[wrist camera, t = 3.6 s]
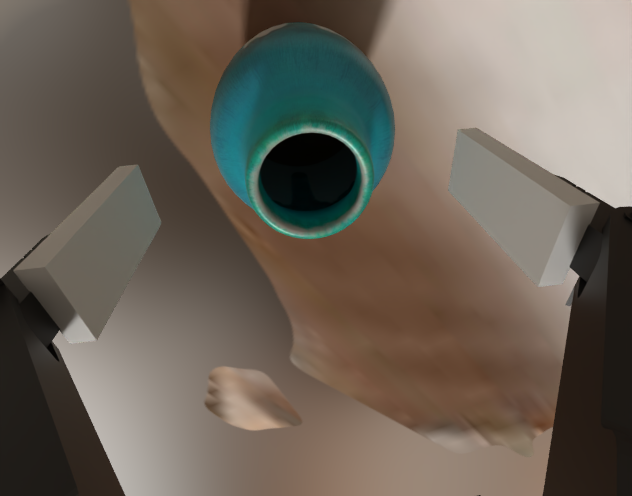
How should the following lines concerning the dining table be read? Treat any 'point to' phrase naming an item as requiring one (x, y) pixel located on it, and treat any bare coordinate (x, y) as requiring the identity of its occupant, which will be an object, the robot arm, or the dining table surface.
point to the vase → (302, 129)
